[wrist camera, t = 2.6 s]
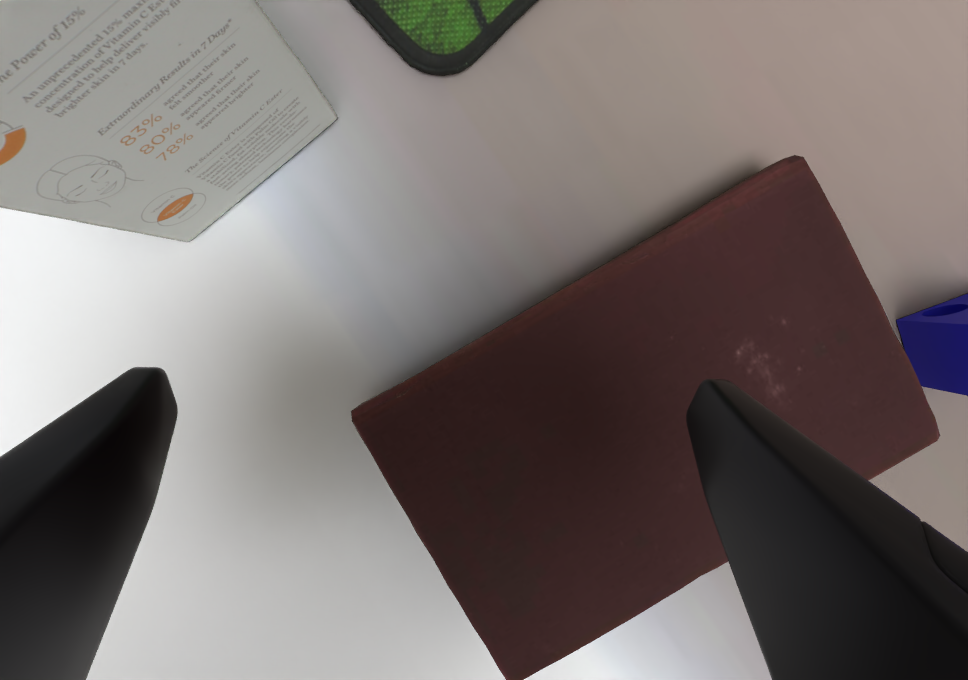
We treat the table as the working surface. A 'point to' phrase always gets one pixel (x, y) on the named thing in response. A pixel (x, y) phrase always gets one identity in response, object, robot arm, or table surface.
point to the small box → (147, 110)
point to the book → (638, 414)
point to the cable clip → (939, 345)
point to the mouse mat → (441, 29)
